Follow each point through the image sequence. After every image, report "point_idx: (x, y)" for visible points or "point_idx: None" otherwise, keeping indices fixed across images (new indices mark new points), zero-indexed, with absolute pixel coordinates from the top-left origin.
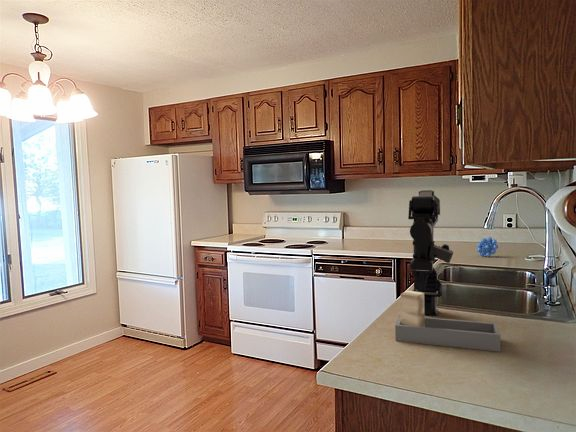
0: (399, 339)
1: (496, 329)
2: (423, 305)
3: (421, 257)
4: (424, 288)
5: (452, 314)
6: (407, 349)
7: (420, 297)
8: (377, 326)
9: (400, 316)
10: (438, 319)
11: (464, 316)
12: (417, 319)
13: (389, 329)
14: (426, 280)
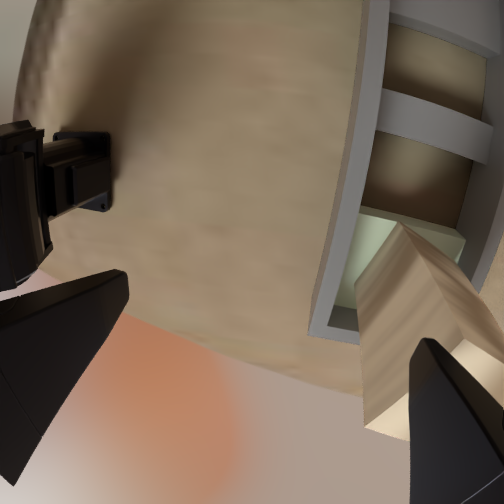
0: None
1: None
2: (446, 288)
3: None
4: (451, 359)
5: (85, 74)
6: (500, 288)
7: (498, 350)
8: (284, 361)
9: (329, 334)
10: (370, 151)
11: (102, 29)
12: (477, 293)
13: None
14: (102, 291)
